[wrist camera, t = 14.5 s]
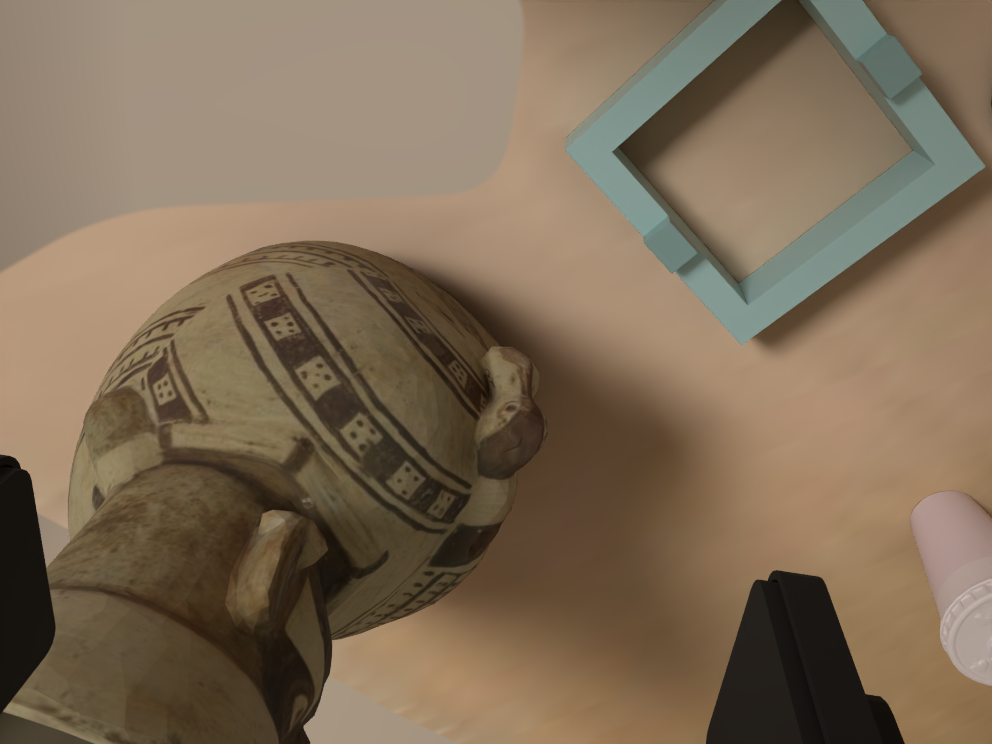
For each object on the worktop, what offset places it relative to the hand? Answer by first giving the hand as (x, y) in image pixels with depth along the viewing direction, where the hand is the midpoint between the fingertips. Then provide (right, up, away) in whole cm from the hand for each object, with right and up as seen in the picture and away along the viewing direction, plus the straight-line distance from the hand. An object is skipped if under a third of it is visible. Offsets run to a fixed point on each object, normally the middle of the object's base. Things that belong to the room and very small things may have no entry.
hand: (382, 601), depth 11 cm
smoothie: (+27, -5, +38) cm, 47 cm away
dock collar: (+14, +14, +30) cm, 36 cm away
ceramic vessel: (-6, +4, +38) cm, 38 cm away
